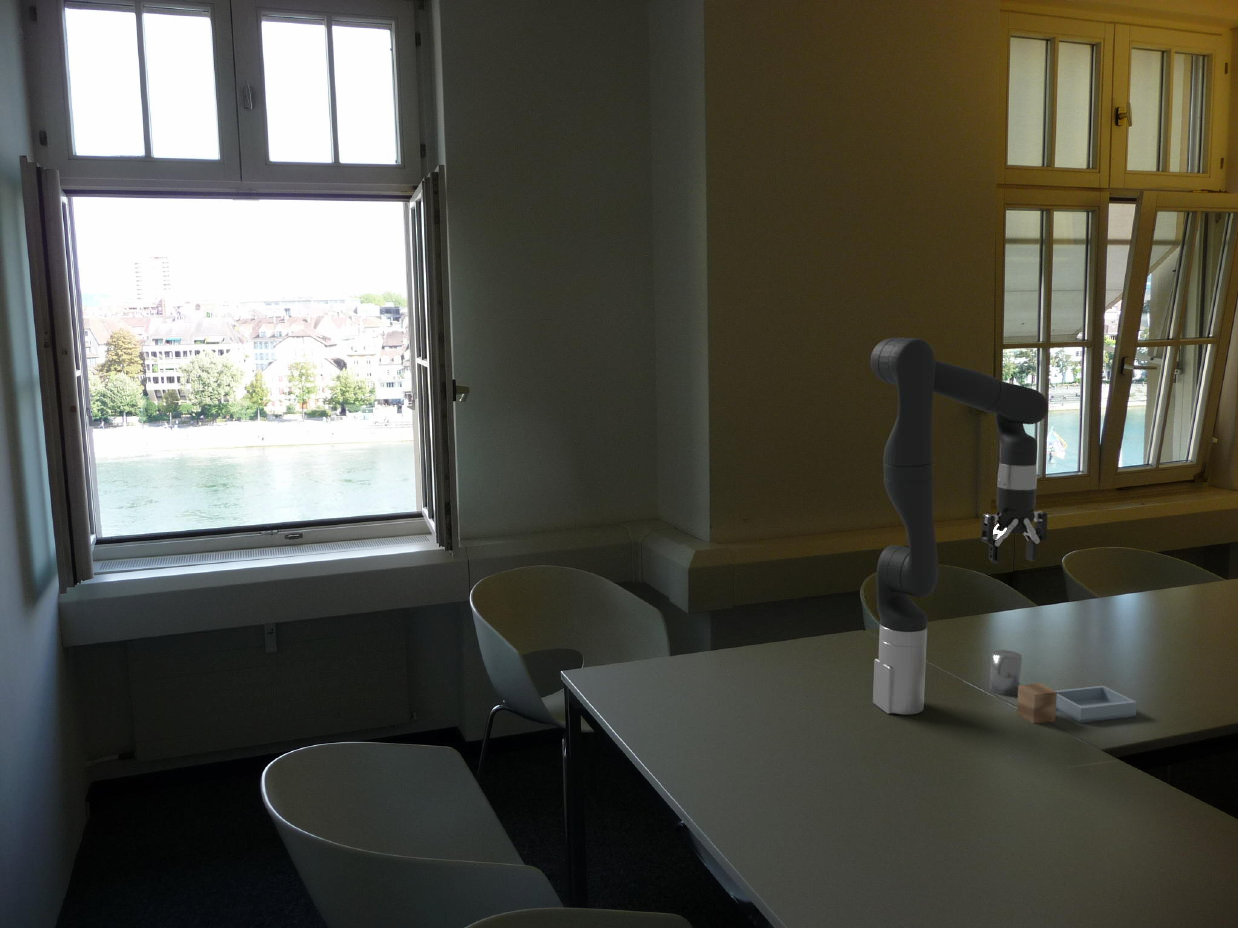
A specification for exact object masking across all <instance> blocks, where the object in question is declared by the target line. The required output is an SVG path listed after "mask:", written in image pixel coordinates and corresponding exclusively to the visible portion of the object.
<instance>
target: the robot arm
mask: <svg viewBox="0 0 1238 928" xmlns="http://www.w3.org/2000/svg"><path fill="white" fill-rule="evenodd" d="M870 368H871V371H872V372H873V374H874V375H875V377H876V378H877V379H878V380H880V381H881V382H883V383H885V384H888V385H893V386H897V397H898V398H897V399H898V401H897V402H898V403H897V417H896V420H895V423H894V424H893V427H892V430H891V432H890V434H889V437H888V439H887V440H886V441H887V442H886V444H885V448H884V451H883V461H882V462H883V483H884V484H883V485H884V488H885V491H886V494H887V496H888V498H889V499H890V502H891V504H892V505H893V507H894V509H895V510H896V512H897V513H898V515H899V517H900V519H901V521H902V523H903V525H904V528H905V531H906V537H907V543H908V547H906V546H902V545H897V544H896V545H889V546H887V547H885V548H884V549H883V550H882V552H881V553H880V555H879V558H878V561H877V567H876V607H877V612H878V615H879V638H878V639H879V640H878V658H874V662H873V688H872V690H873V692H872V694H873V695H872V704H874V705H875V706H877V707H878V708H879V709H881V710H882V711H884V712H885V713H886V714H898V715H916V714H919V713H922V712H923V711H924V707H925V705H924V704H925V686H926V683H925V681H926V661H927V657H926V656H927V639H928V614H927V613H926V611H924V610H923V609H922V608H920V607H919V606H918V605H917V604H915V602H914V601H913V600H912V599H911V597H910V596H913V597H918V598H927V597H928V596H930V595H932V594H933V592H934V591H935V589H936V587H937V584H938V579H939V559H938V558H939V557H938V547H937V540H936V533H935V522H934V519H935V518H934V503H933V502H934V499H933V498H934V497H933V491H934V490H933V489H934V488H933V485H934V483H933V482H934V480H933V479H934V473H933V472H934V469H933V468H934V467H933V447H932V446H933V445H932V442H933V440H932V438H933V434H932V433H933V427H932V426H933V422H932V421H933V420H932V419H933V418H932V417H933V415H932V414H933V401H934V394H937V395H940V396H943V397H945V398H948V399H951V400H953V401H956V402H957V403H961V404H963V405H965V406H967V407H968V406H969V407H971V408H974V409H976V410H980V411H982V412H985V413H986V412H987V413H993V414H994V419H995V423H996V430H997V434H998V437H999V441H1000V442H999V443H1000V448H999V449H1000V451H999V464H998V465H999V466H998V471H997V485H996V508H997V512H996V513H995V514H989V513H983V515H982V522H981V531H980V541H981V542H984V543H986V544H988V559H989V560H990V561H989V562H991V563H992V564H996V565H997V564H1000V560H1001V543H1002V542H1003V541H1004V540H1005V539H1006V538H1008V536H1009V535H1015V534H1020V535H1023V536H1024V537H1025V539H1026V543H1025V560H1026V561H1030V562H1035V561H1036V559H1037V556H1038V547H1039V545H1038V544H1040V542H1042V541H1046V540H1047V539H1048V513H1047V512H1044V511H1041V510H1035V511H1034V509H1035V508H1036V501H1037V483H1038V482H1037V481H1038V472H1037V471H1038V469H1037V458H1038V457H1037V455H1038V441H1037V439H1036V438H1035V437H1033V436H1032V435H1030V434H1028V433H1027V432H1026V429H1025V426H1024V425H1035V424H1038V423H1039V422H1041V421H1043V420H1044V419H1045V418H1046V416H1047V415H1048V413H1049V402H1048V399H1047V398H1046V396H1045V395H1044V394H1043V393H1041V392H1040V391H1038V390H1036V389H1033V388H1031V387H1026V386H1023V385H1018V384H1015V383H1010V382H1006V381H1003V380H1001V379H999V378H997V377H994V376H992V375H990V374H987V373H984V372H981V371H978V370H975V369H971V368H967V367H963V366H960V365H959V366H958V365H954V364H950V363H946V362H943V361H940V360H937V359H936V355H935V353H934V350H933V347H932V346H931V345H930V344H929V342H928V341H925V340H924V339H921V338H916V337H913V338H912V337H889V338H886V339H883V340H882V341H880V342H879V343H877V344H876V346H874V348H873V350H872V352H871V356H870ZM1033 521H1034V527H1033V525H1032V523H1033ZM995 525H996V526H995Z"/></svg>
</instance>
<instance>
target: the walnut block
mask: <svg viewBox="0 0 1238 928" xmlns="http://www.w3.org/2000/svg"><path fill="white" fill-rule="evenodd" d="M1056 691H1057V690H1054V689H1051V688H1050V687H1048V686H1047V685H1044V684H1042V683H1041V682H1039V683H1027V684H1020V685H1018V695H1017V706H1016V714H1017V715H1019V716H1020V717H1021V718H1022V719H1024V720H1026V721H1028V722H1029V723H1031V724H1033V725H1034V724H1042V723H1050V722H1056V712H1057V710H1056V700H1057V692H1056Z"/></svg>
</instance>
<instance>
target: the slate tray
mask: <svg viewBox="0 0 1238 928" xmlns="http://www.w3.org/2000/svg"><path fill="white" fill-rule="evenodd" d="M1055 691H1056V692H1057V700H1056V711H1058V712H1059V713H1061V714H1063V715H1065V716H1067V717H1069V718H1071V719H1073V720H1074V721H1076V722H1077V723H1079V724H1082V723H1083V724H1084V723H1092V722H1093V723H1094V722H1100V721H1109V720H1115V719H1117V720H1118V719H1126V718H1134V717H1137V706H1138V701H1135V700H1134V699H1131V698H1129V697H1128V696H1126V695H1124V694H1121V693H1119V692H1117V691H1115V690H1113V689H1111V688H1109V687H1107V686H1105V685H1097V686H1096V685H1095V686H1088V687H1078V688H1068V689H1060V690H1059V689H1057V690H1055Z"/></svg>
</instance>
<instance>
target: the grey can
mask: <svg viewBox="0 0 1238 928" xmlns="http://www.w3.org/2000/svg"><path fill="white" fill-rule="evenodd" d="M990 656H991V658H990V672H989V673H990V676H989V691H991V692H992V693H994V694H996V695H999V696H1005V697H1014V696H1015V697H1016V696H1018V685H1021V681H1022V680H1021V679H1022V664H1023V663H1022V661H1023V659H1022V658H1023V656H1022V654H1020V653H1018V652H1016V651H1012V650H1007V649H995V650H993V651H991V655H990Z"/></svg>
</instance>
